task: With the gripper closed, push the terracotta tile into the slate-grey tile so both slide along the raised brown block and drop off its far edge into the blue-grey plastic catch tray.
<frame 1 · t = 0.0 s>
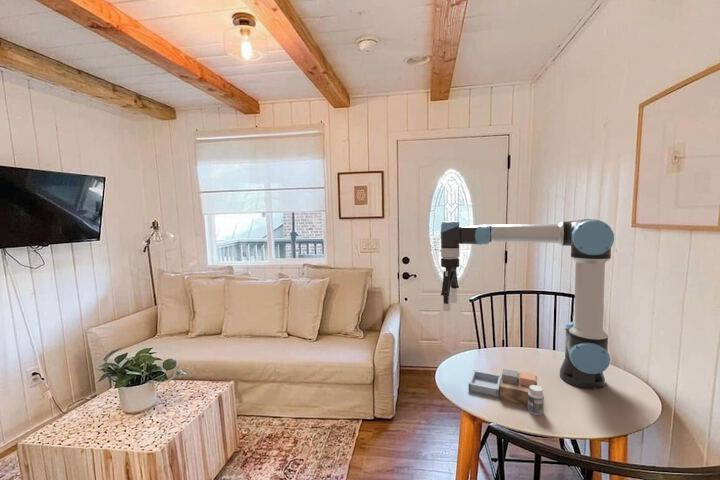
hand: (450, 306, 143), 28 cm above the table, fingers open, 13 cm apart
pill bottle: (535, 412, 114), on the table
terracotta tile: (527, 382, 123), point 5 cm above the table, touching brown block
tray: (485, 386, 130), on the table
brown block: (518, 393, 125), on the table
slate-grey tile: (510, 379, 126), point 5 cm above the table, touching brown block
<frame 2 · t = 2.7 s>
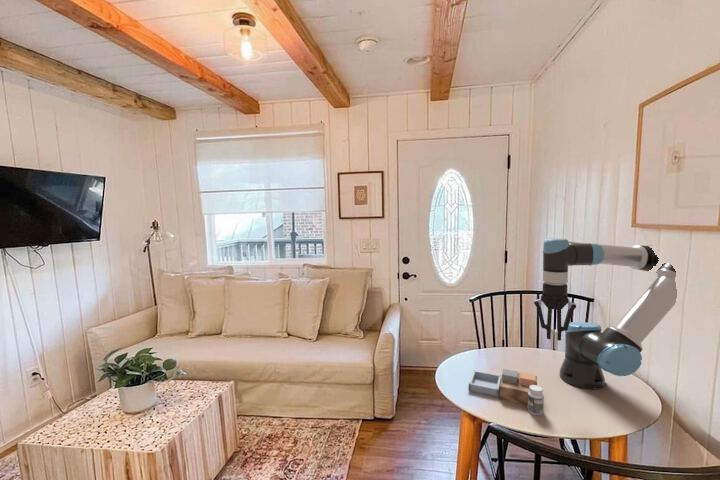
hand: (553, 348, 118), 19 cm above the table, fingers closed
nothing on the table moved.
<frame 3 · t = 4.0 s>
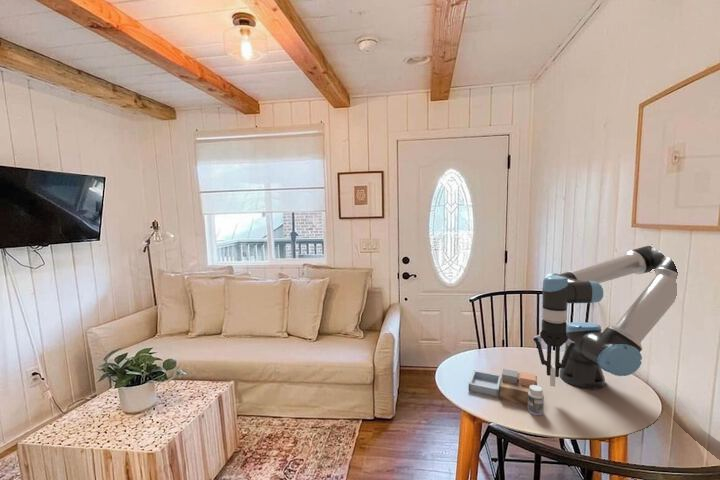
hand: (552, 384, 119), 6 cm above the table, fingers closed
nothing on the table moved.
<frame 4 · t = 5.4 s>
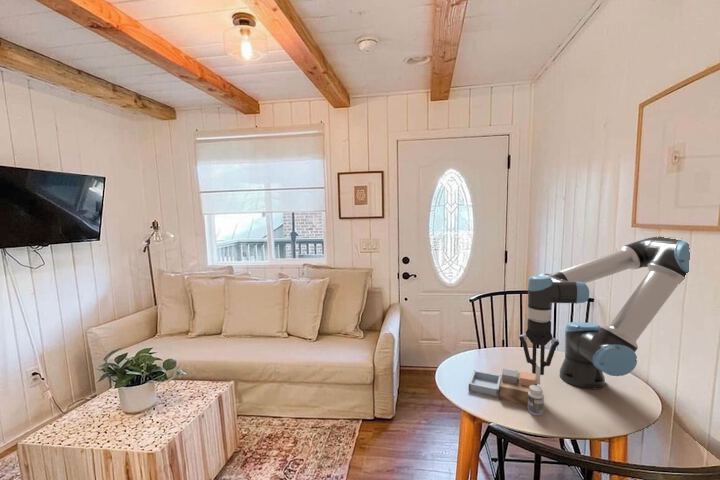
hand: (537, 382, 121), 6 cm above the table, fingers closed
terracotta tile: (527, 382, 123), point 5 cm above the table, touching brown block, gripper
everything else where it was.
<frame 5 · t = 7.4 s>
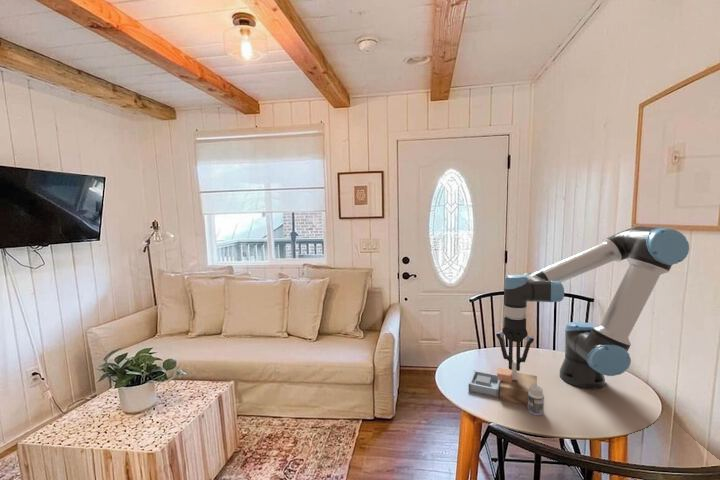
hand: (514, 378, 125), 6 cm above the table, fingers closed
terracotta tile: (504, 378, 127), point 5 cm above the table, touching gripper
slate-grey tile: (483, 379, 130), point 3 cm above the table, tilted 180°, touching tray
everything else where it was.
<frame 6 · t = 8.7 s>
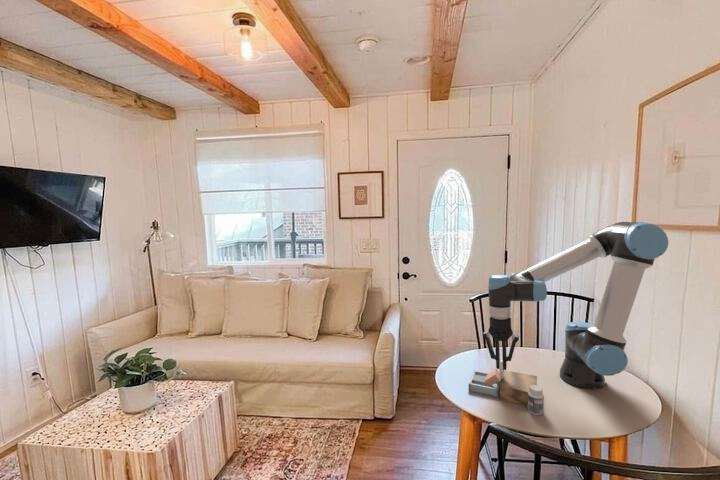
hand: (501, 377, 127), 5 cm above the table, fingers closed
terracotta tile: (495, 380, 128), point 3 cm above the table, tilted 43°, touching gripper, slate-grey tile
slate-grey tile: (479, 378, 131), point 3 cm above the table, tilted 180°, touching terracotta tile, tray
everything else where it was.
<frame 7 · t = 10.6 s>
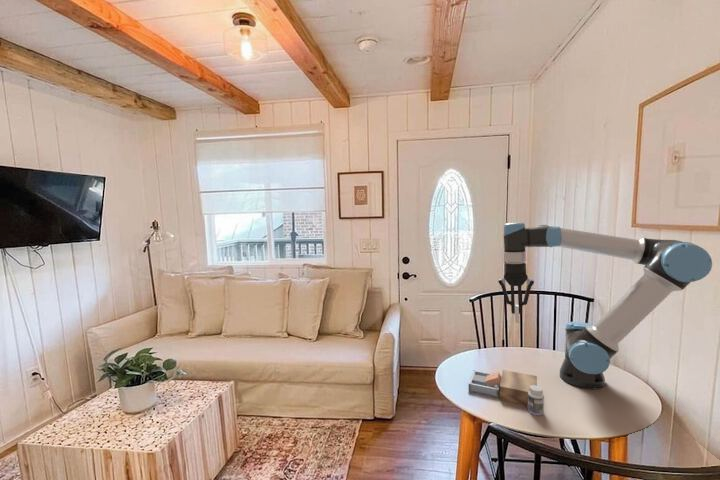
hand: (517, 321, 131), 25 cm above the table, fingers closed
terracotta tile: (495, 382, 128), point 3 cm above the table, tilted 28°, touching brown block, slate-grey tile, tray
everything else where it was.
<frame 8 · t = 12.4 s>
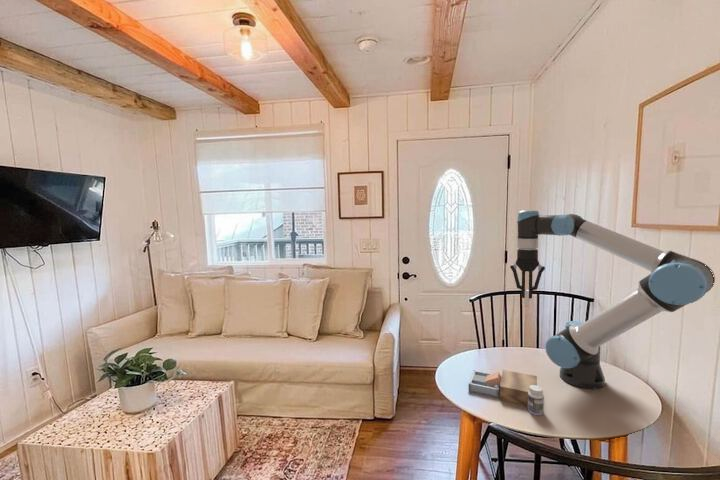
hand: (526, 305, 136), 29 cm above the table, fingers closed
nothing on the table moved.
at the end: terracotta tile inside the target area on the tray (3.6 cm from its centre), point 2.5 cm above the tray's base; slate-grey tile inside the target area on the tray (2.0 cm from its centre), point 3.0 cm above the tray's base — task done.
